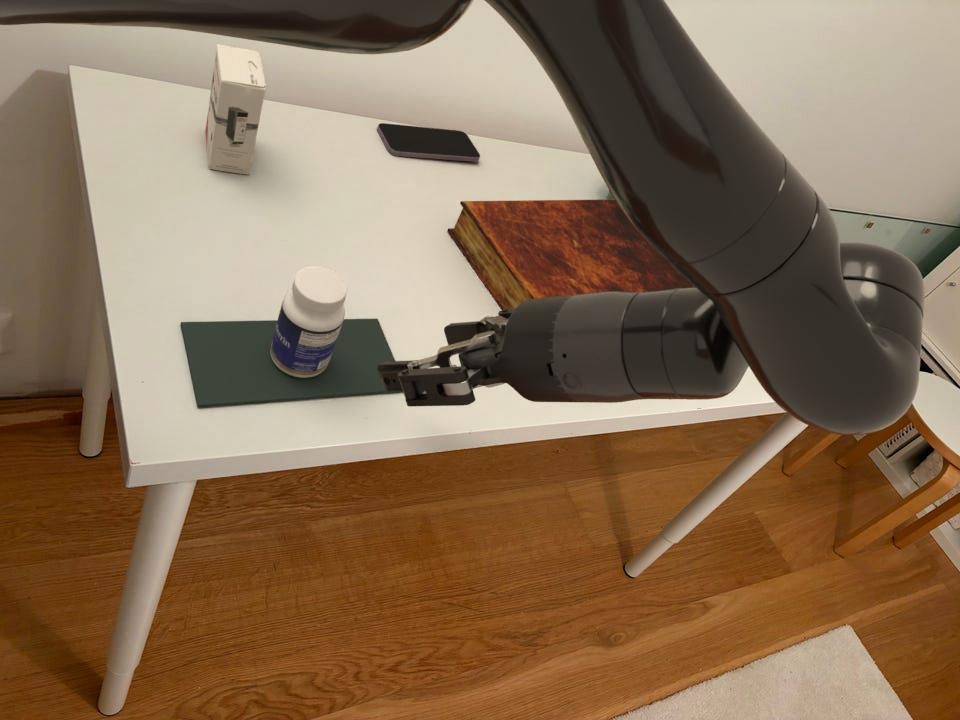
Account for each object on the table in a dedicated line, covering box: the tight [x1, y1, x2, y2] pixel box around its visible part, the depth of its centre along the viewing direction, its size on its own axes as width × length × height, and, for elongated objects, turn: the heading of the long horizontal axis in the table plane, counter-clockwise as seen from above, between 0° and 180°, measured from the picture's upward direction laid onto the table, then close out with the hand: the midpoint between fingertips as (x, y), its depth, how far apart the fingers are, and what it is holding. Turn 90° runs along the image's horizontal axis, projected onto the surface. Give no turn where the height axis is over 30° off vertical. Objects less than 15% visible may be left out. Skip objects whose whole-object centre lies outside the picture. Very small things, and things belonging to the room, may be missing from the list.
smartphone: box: [376, 122, 481, 163], centre depth 108 cm, size 7×1×15 cm
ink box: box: [205, 43, 267, 176], centre depth 85 cm, size 9×5×12 cm, turn 17°
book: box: [447, 199, 695, 311], centre depth 96 cm, size 30×24×5 cm
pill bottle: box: [270, 265, 348, 378], centre depth 67 cm, size 6×6×10 cm
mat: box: [180, 318, 403, 409], centre depth 70 cm, size 20×10×1 cm, turn 114°
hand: (417, 355), depth 60 cm, fingers open, 8 cm apart
